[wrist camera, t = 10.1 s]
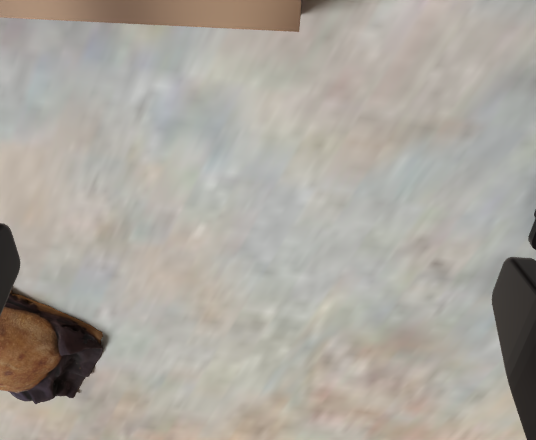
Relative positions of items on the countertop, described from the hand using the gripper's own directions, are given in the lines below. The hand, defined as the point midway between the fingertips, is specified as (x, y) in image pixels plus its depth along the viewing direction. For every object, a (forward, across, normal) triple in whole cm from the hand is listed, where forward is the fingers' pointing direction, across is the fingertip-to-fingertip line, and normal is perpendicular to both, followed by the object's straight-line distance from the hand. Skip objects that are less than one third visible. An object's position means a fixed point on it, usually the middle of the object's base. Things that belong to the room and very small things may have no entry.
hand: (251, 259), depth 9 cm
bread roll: (+14, +16, +18) cm, 28 cm away
